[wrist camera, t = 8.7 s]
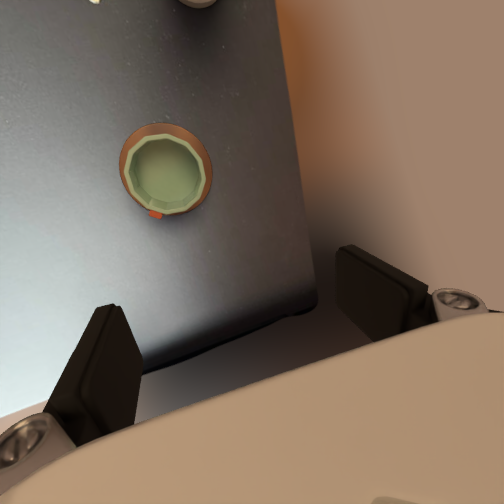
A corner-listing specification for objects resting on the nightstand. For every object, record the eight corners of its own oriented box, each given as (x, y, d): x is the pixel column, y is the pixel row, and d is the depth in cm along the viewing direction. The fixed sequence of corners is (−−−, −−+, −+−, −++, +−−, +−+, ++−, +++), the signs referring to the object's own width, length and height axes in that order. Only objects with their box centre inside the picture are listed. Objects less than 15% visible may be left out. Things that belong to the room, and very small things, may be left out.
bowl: (142, 125, 26) (135, 120, 22) (208, 153, 29) (214, 153, 25) (124, 197, 28) (115, 206, 24) (188, 217, 31) (190, 228, 26)
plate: (191, 110, 28) (191, 109, 27) (223, 196, 32) (224, 197, 31) (101, 141, 26) (99, 141, 26) (147, 226, 31) (147, 228, 30)
